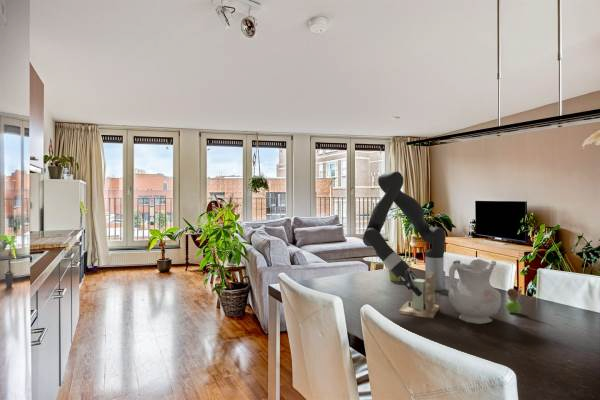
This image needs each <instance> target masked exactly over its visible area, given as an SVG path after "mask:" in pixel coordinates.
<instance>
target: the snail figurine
mask: <svg viewBox="0 0 600 400" xmlns="http://www.w3.org/2000/svg"><path fill="white" fill-rule="evenodd" d="M522 290H523V286H520V287H519V289H518V290H516V289H515V288H509V289H508V290H507V299H508V301H507V302H506V303H505V308H506V310H507V312H508V313H510V314H517V313H519V312H520V311H521V305H520V302H518V301H519V300H520V298H521V296H522V293H523V292H522Z"/></svg>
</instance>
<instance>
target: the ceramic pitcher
mask: <svg viewBox="0 0 600 400" xmlns="http://www.w3.org/2000/svg"><path fill="white" fill-rule="evenodd" d="M496 265H497V261H495V260H491V261H490V263H489V262H488V261H487V260H483V259H480V258H476V259H474V260H472V261H471V262H470V263H463V262H461V260H458V259H456V260H454V261H452V263H451V265H450V267H449V269H448V279H449V283H450V289H449V291H448V300H449V303H450V305H451V306H452V307H453V308H454V310H455V311H456V312H457V313H459V314H460V315H459V316H458V317H459V318H458V319H459V320H460V321H461V320H462V321H464V322H466V323H468V324H469V323H471V324H477V325H482V324H487V323H491V322H493V318H490V317H492V316H495V315H496V314H497V313H498V312H499V311H500V308H501V304H502V294H501V293H500V291H498V290H497V289H496V288H495V287H494V286H493V285H491V282H490V281H491V280H490V279H491V275H492V272H493V270H494V268H495V266H496ZM456 271H457V274H458V277H459V279H458V281H457V282H456V279H455V273H456Z"/></svg>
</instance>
